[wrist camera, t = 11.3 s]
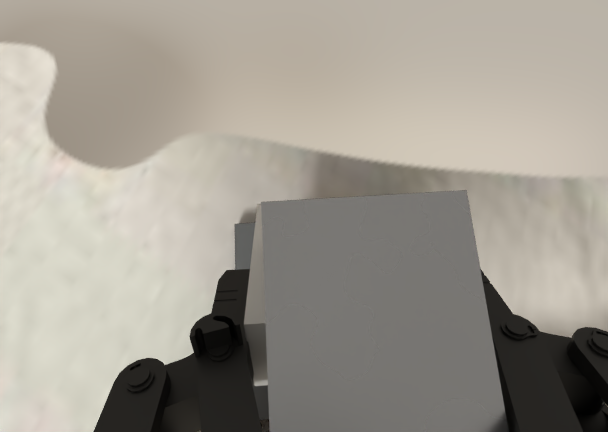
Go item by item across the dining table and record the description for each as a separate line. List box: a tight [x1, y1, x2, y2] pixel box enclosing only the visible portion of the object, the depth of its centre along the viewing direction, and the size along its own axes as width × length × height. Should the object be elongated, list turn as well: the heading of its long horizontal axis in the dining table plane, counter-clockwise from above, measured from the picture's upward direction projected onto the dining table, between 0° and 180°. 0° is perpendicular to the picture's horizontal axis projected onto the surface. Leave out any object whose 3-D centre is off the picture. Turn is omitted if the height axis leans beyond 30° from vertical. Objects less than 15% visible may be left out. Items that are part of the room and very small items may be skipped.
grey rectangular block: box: [261, 190, 509, 432], centre depth 13 cm, size 6×5×10 cm
